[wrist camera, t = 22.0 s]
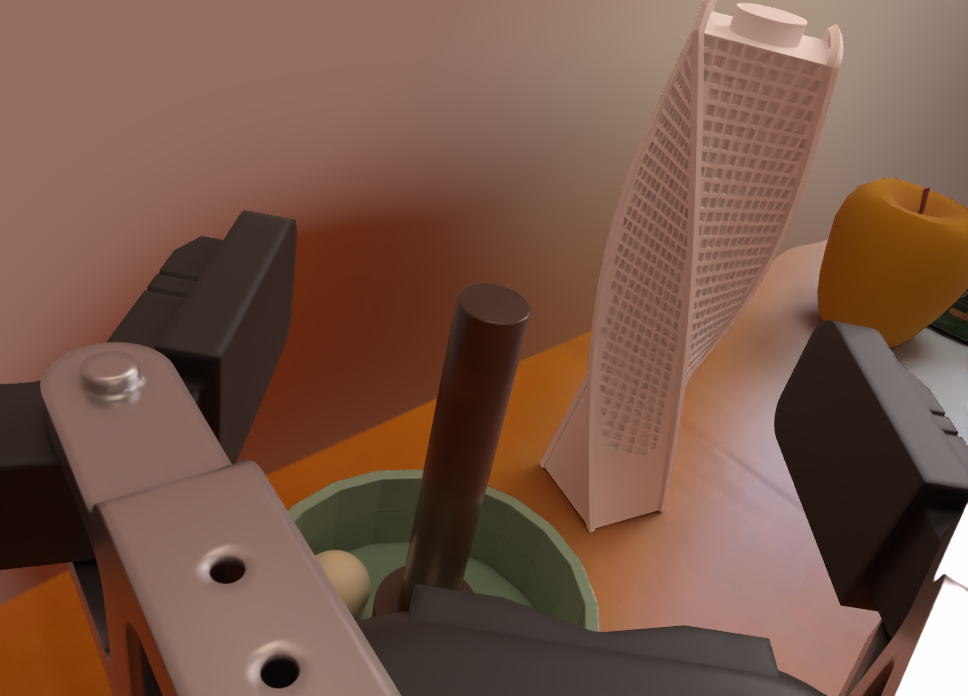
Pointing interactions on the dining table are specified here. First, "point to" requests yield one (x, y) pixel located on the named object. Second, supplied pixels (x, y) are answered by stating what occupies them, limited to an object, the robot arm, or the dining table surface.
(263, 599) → the robot arm
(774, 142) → the skyscraper
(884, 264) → the apple
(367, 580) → the bead
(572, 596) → the bowl
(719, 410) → the dining table surface
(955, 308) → the coffee jar
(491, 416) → the pestle
